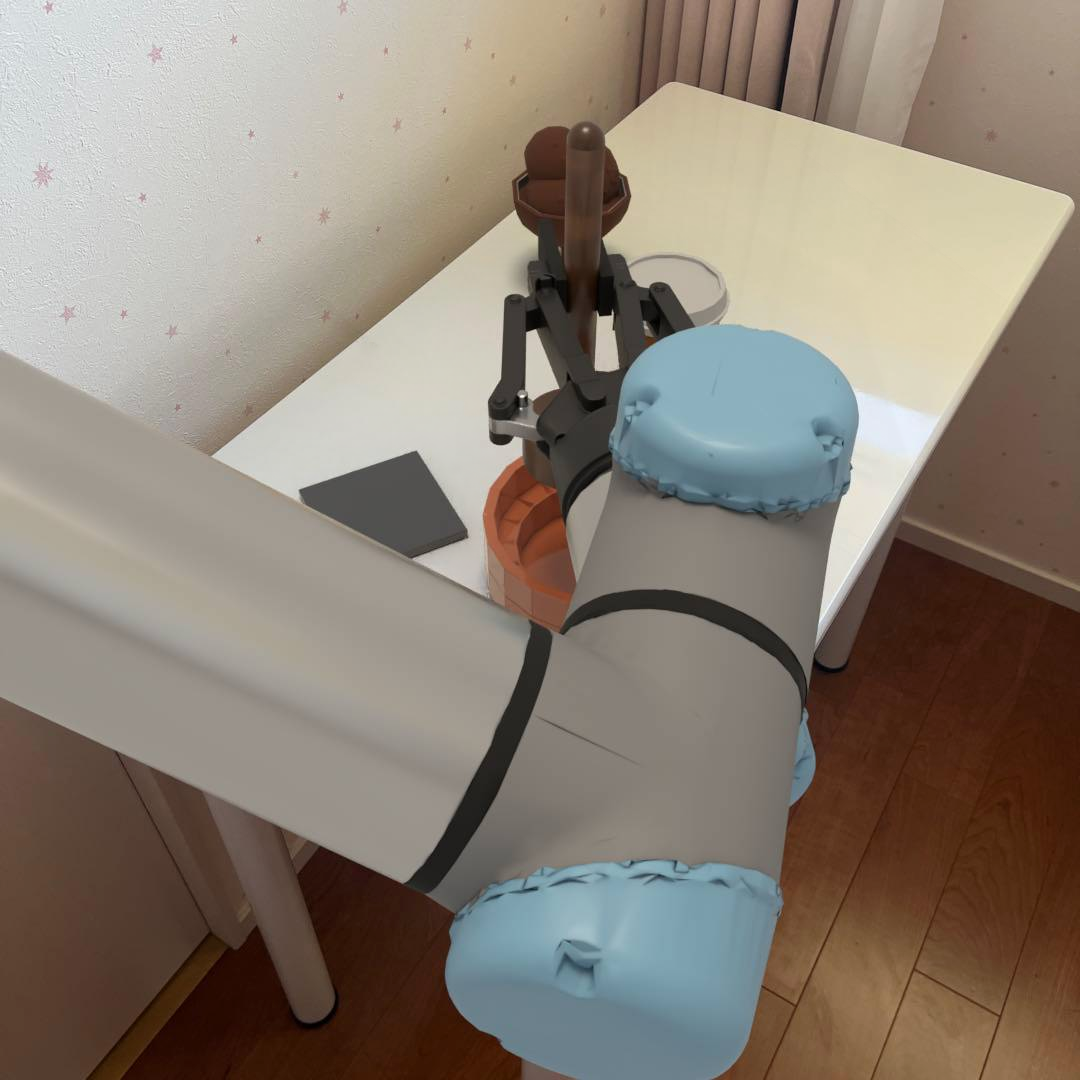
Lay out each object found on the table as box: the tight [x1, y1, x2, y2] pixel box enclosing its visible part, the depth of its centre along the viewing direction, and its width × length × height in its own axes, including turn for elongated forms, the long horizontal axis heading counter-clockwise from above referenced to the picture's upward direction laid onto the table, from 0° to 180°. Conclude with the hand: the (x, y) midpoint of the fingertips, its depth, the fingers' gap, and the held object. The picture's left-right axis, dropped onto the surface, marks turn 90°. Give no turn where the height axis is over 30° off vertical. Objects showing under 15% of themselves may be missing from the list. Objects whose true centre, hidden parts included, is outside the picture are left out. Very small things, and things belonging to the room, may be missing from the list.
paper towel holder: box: [521, 120, 606, 489], centre depth 65 cm, size 7×7×23 cm
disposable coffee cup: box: [612, 251, 731, 369], centre depth 90 cm, size 10×10×12 cm
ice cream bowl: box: [511, 125, 632, 266], centre depth 102 cm, size 11×11×15 cm
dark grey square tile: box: [298, 449, 469, 559], centre depth 85 cm, size 10×10×1 cm
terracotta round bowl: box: [482, 455, 577, 633], centre depth 78 cm, size 17×17×6 cm
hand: (566, 237), depth 67 cm, fingers closed on paper towel holder, 2 cm apart
